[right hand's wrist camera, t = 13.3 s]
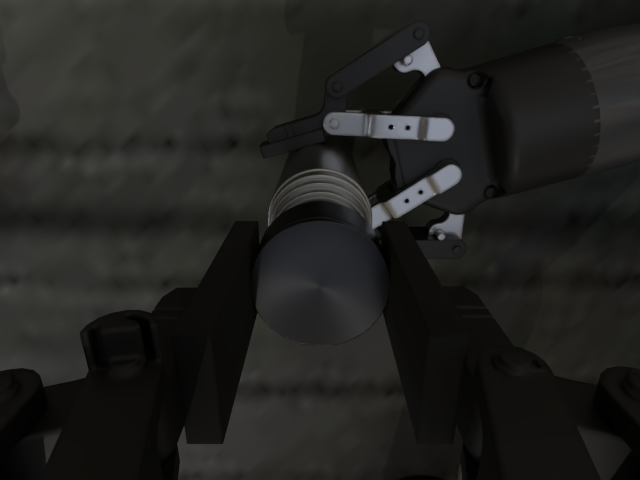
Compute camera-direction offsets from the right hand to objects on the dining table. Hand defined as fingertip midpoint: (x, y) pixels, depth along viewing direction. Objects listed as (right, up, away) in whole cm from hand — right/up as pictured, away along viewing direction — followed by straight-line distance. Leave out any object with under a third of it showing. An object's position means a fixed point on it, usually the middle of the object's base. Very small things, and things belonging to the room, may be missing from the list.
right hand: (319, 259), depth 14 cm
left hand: (-2, +4, +11) cm, 12 cm away
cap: (0, -1, -2) cm, 2 cm away
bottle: (0, +7, +17) cm, 18 cm away
